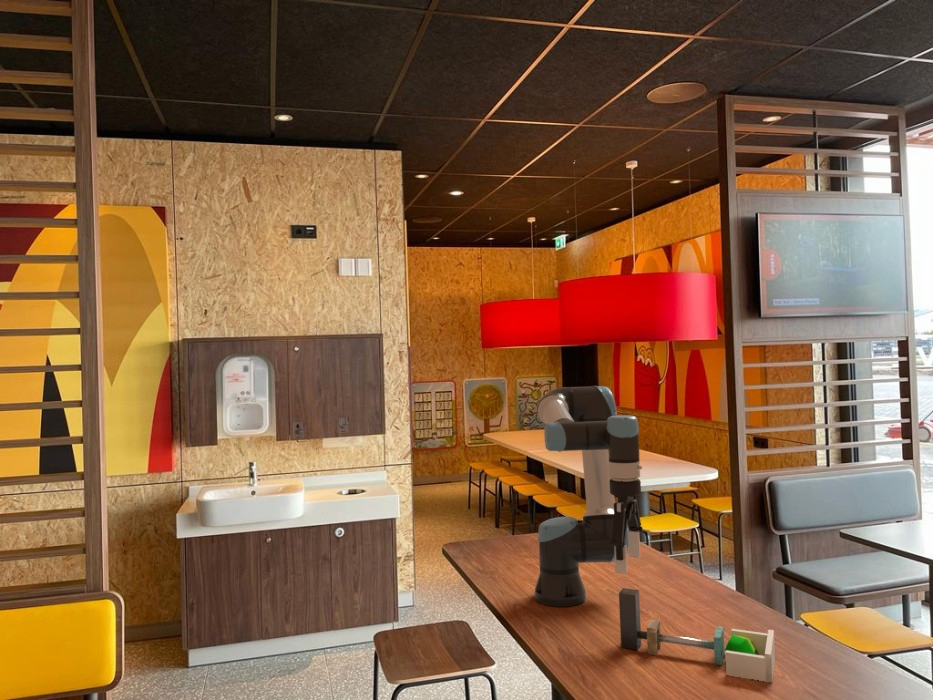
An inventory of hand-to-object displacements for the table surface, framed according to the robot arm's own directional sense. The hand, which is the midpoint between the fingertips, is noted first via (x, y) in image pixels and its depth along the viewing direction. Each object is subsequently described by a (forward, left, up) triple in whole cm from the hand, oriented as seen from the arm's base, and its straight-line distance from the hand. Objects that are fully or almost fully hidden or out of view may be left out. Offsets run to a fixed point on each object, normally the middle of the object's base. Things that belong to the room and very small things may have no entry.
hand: (628, 564), depth 163 cm
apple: (+25, +2, -20) cm, 32 cm away
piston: (+10, 0, -19) cm, 22 cm away
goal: (+27, 0, -20) cm, 34 cm away
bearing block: (+6, 0, -20) cm, 21 cm away
